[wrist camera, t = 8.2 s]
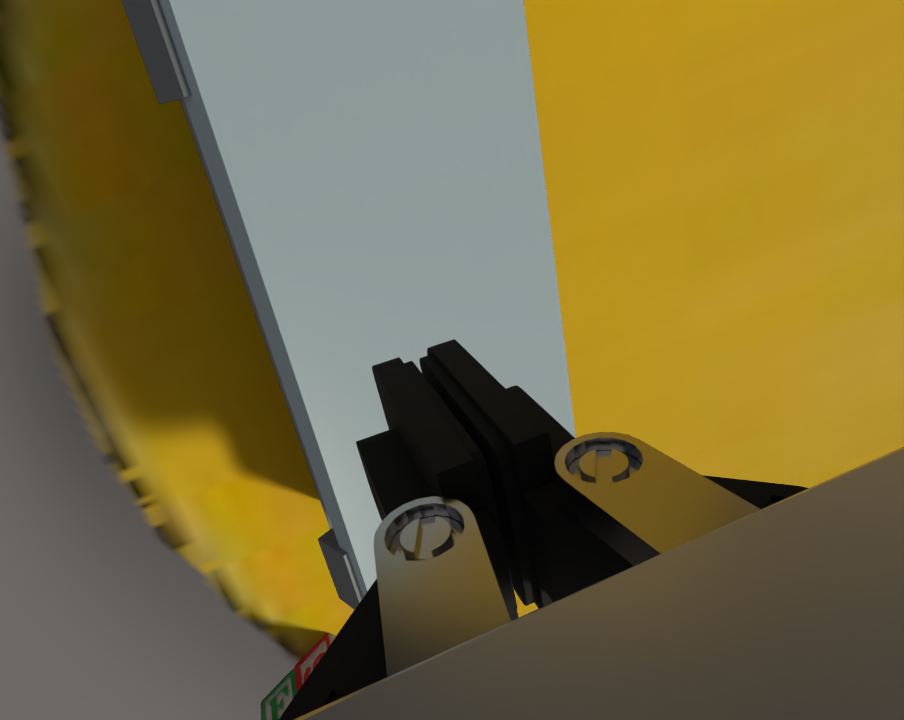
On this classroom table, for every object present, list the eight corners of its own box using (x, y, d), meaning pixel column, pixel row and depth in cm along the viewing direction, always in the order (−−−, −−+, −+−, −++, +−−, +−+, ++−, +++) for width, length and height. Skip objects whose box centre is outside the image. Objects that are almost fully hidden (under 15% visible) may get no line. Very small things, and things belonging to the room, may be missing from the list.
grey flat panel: (54, -185, 14) (82, -230, 12) (456, -146, 21) (502, -171, 20) (358, 651, 25) (391, 678, 24) (548, 476, 33) (581, 489, 31)
